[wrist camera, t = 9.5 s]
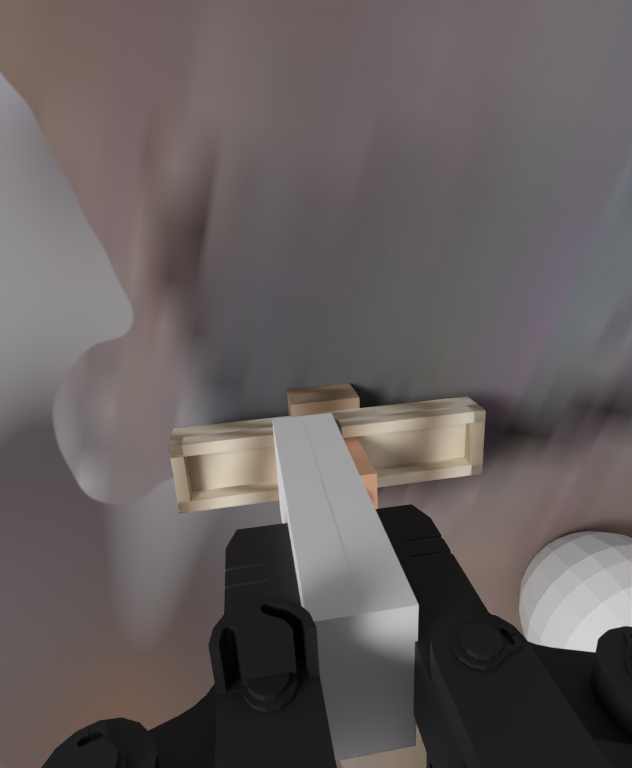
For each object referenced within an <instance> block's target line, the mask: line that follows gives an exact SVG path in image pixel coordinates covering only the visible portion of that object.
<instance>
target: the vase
mask: <svg viewBox="0 0 632 768" xmlns="http://www.w3.org/2000/svg"><path fill="white" fill-rule="evenodd" d="M519 614H520V619H521V624H522V629H523V632H524V636H525V638H526V640H527V641H529V642H531V643H534V644H537V645H542V646H547V647H552V648H561V649H570V650H578V651H587V652H596V647H597V642H598V638H600V637H601V636H602V635H603V634H604V633H605V632H606V631H608V630H609V629H614V628H619V627H623V626H629V627H632V538H631V537H628V536H625V535H623V534H615V533H607V532H595V531H585V532H578V533H573V534H569V535H566V536H564V537H561V538H558V539H555V540H554V541H552V542H550V543H549V544H547V545H546V546H544V547H543V548H542V549H541V550H540V551H539V552H538V553H537V554H536V555H535V556H534V558H533V559H532V561H531V562H530V564H529V566H528V567H527V569H526V572H525V574H524V577H523V579H522V582H521V590H520V602H519Z"/></svg>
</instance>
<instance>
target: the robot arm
mask: <svg viewBox="0 0 632 768" xmlns="http://www.w3.org/2000/svg"><path fill="white" fill-rule="evenodd" d="M272 423H273V434H274V445H275V456H276V467H277V478H278V489H279V500H280V511H281V517H282V524H276V525H269V526H262V527H254V528H246V529H239V530H236V532H235V534H234V536H233V537H232V539H231V540H230V542H229V544H228V546H227V547H226V563H225V569H226V572H225V609H224V615H223V617H222V618H221V619H220V620H219V622H218V623H217V624H216V625H215V627H214V628H213V631H212V635H211V638H210V642H209V651H210V657H211V663H212V669H213V675H214V681H215V684H214V685H213V687H212V688H211V689H210V691H209V692H208V693H207V695H206V696H205V697H204V698H202V699H201V700H200V701H199V702H198V703H197V704H196V705H195V706H194V707H192V708H190V709H189V710H187V711H186V712H184V713H182V714H181V715H179V716H177V717H175V718H173V719H171V720H169V721H167V722H165V723H163V724H161V725H159V726H157V727H155V728H153V729H151V730H149V731H147V730H146V729H145V728H144V727H143V726H142V725H141V724H140V723H139V722H136V721H132V720H128V719H125V718H115V719H108V720H101V721H98V722H96V723H94V724H91V725H89V726H87V727H85V728H83V729H81V730H79V731H77V732H75V733H74V734H73V735H72V736H70V737H69V738H68V739H67V740H66V741H64V742H63V743H62V744H61V745H60V746H59V747H57V748H56V749H55V750H54V752H53V753H52V754H51V756H50V757H49V758H48V760H47V761H46V762H45V764H44V765H43V766H42V768H337V767H336V761H339V760H344V759H349V758H354V757H359V756H364V755H369V754H375V753H380V752H385V751H390V750H395V749H400V748H405V747H410V746H416V723H417V726H418V729H419V732H420V734H421V737H422V740H423V743H424V746H425V749H426V752H427V766H426V768H632V627H629V626H623V627H619V628H614V629H609V630H608V631H606V632H605V633H604V634H603V635H602V636H601V637H600V638H598V642H597V647H596V652H587V651H578V650H570V649H561V648H552V647H547V646H542V645H537V644H534V643H531V642H529V641H527V640H526V638H525V637H524V636H523V635H522V634H521V633H520V632H519V631H518V630H517V629H516V628H515V627H514V626H513V625H511V624H510V623H508V622H506V621H505V620H503V619H501V618H500V617H498V616H495V615H491V614H490V613H489V612H488V611H487V609H486V607H485V606H484V604H483V602H482V601H481V599H480V598H479V596H478V594H477V593H476V591H475V589H474V588H473V586H472V585H471V583H470V581H469V580H468V578H467V576H466V575H465V573H464V572H463V570H462V568H461V567H460V565H459V563H458V562H457V560H456V559H455V557H454V555H453V554H451V552H450V549H449V547H448V545H447V544H446V542H445V541H444V539H442V537H441V534H440V532H439V531H438V529H437V528H436V526H435V524H434V523H433V521H432V519H431V518H430V517H429V516H427V515H426V514H424V513H423V512H422V511H420V510H419V509H417V508H416V507H415V506H413V505H412V504H410V505H403V506H396V507H388V508H381V509H375V508H374V505H373V503H372V501H371V499H370V497H369V494H368V492H367V490H366V488H365V486H364V483H363V481H362V479H361V477H360V475H359V472H358V470H357V468H356V466H355V464H354V461H353V459H352V457H351V455H350V453H349V450H348V448H347V446H346V444H345V442H344V439H343V437H342V435H341V433H340V431H339V428H338V426H337V424H336V422H335V420H334V417H333V415H332V413H324V414H315V415H306V416H297V417H288V418H279V419H272Z"/></svg>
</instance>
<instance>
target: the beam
mask: <svg viewBox="0 0 632 768" xmlns="http://www.w3.org/2000/svg"><path fill="white" fill-rule="evenodd" d="M286 392H287V405H288V416H284V417H275V418H265V419H256V420H247V421H238V422H229V423H220V424H211V425H202V426H192V427H183V428H174V429H173V432H172V435H171V439H170V443H169V452H170V458H171V465H172V471H173V477H174V483H175V489H176V495H177V501H178V507H179V513H186V512H193V511H201V510H209V509H216V508H224V507H231V506H240V505H246V504H255V503H262V502H270V501H277V500H279V489H278V478H277V467H276V456H275V445H274V434H273V423H272V419H279V418H288V417H297V416H306V415H315V414H324V413H332V415H333V417H334V420H335V422H336V424H337V426H338V428H339V431H340V433H341V435H342V437H343V438H348V437H357V438H358V440H359V442H360V444H361V446H362V447H363V449H364V451H365V453H366V455H367V456H368V458H369V460H370V462H371V464H372V465H373V467H374V469H375V471H376V473H377V487H385V486H392V485H400V484H408V483H415V482H423V481H431V480H438V479H446V478H454V477H461V476H469V475H476V474H482V464H483V447H484V431H485V414H486V410H484V409H483V408H482V407H481V406H479V405H478V404H477V403H476V402H474V401H473V400H472V399H470V398H469V397H468V396H466V397H457V398H448V399H439V400H430V401H420V402H411V403H402V404H393V405H384V406H375V407H366V408H360V401H359V396H358V395H357V393H356V392H355V390H354V389H353V387H352V386H351V385H350V383H345V384H335V385H326V386H316V387H306V388H297V389H287V390H286Z"/></svg>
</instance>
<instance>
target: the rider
mask: <svg viewBox="0 0 632 768" xmlns="http://www.w3.org/2000/svg"><path fill="white" fill-rule="evenodd" d="M343 439H344V442H345V444H346V446H347V448H348V450H349V453H350V455H351V457H352V459H353V461H354V464H355V466H356V468H357V470H358V472H359V475H360V477H361V479H362V481H363V483H364V486H365V488H366V490H367V492H368V494H369V497H370V499H371V501H372V503H373V505H374V508H375V509H377V473H376V471H375V469H374V467H373V465H372V464H371V462H370V460H369V458H368V456H367V455H366V453H365V451H364V449H363V447H362V446H361V444H360V442H359V440H358V438H357V437H348V438H343Z"/></svg>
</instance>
